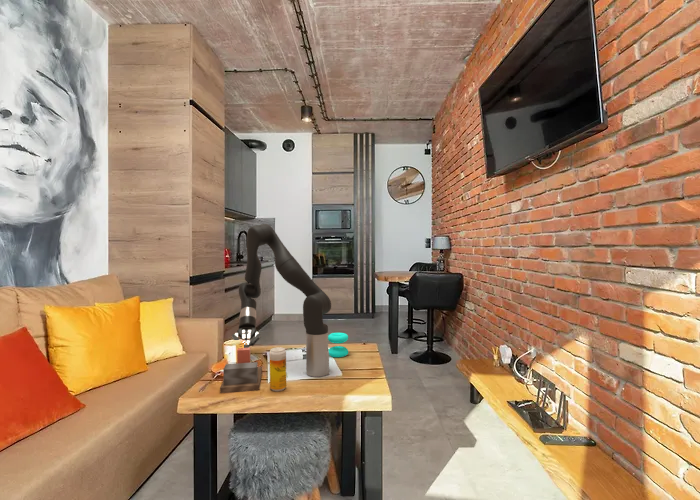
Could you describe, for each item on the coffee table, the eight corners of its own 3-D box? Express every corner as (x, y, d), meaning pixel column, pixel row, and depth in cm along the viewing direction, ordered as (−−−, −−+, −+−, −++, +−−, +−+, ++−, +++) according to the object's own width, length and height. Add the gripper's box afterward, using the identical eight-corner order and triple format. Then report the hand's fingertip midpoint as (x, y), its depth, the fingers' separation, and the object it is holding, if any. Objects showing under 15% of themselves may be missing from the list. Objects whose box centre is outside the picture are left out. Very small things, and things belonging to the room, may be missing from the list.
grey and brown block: (262, 371, 158) (261, 352, 158) (259, 390, 139) (258, 369, 138) (228, 373, 156) (227, 354, 156) (220, 393, 136) (219, 371, 136)
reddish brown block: (250, 368, 155) (250, 347, 155) (250, 371, 152) (249, 349, 152) (238, 369, 154) (237, 348, 154) (237, 372, 151) (237, 350, 151)
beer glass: (282, 392, 136) (282, 352, 136) (267, 391, 138) (266, 351, 137) (288, 386, 142) (288, 347, 142) (273, 384, 144) (273, 346, 143)
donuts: (326, 332, 183) (345, 331, 185) (326, 352, 183) (345, 351, 185) (329, 337, 173) (350, 336, 175) (329, 359, 173) (350, 357, 176)
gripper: (232, 315, 167) (228, 350, 155) (262, 314, 169) (260, 348, 158) (233, 324, 172) (230, 359, 161) (262, 323, 175) (261, 357, 163)
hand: (245, 353), depth 159 cm, fingers closed
